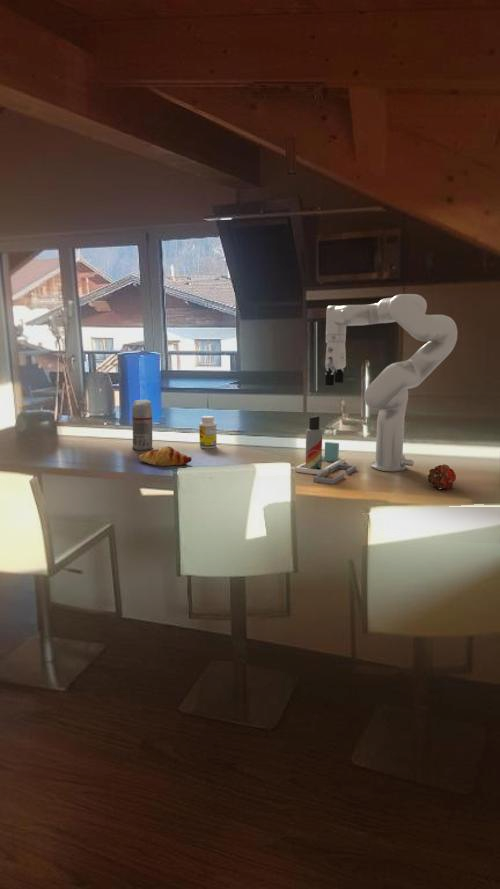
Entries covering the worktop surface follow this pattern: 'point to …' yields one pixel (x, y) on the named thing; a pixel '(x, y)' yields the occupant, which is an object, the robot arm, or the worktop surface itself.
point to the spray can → (142, 424)
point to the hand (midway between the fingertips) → (334, 383)
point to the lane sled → (330, 455)
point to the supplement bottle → (207, 432)
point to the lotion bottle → (314, 444)
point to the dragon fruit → (442, 476)
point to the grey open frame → (332, 481)
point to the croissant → (165, 457)
